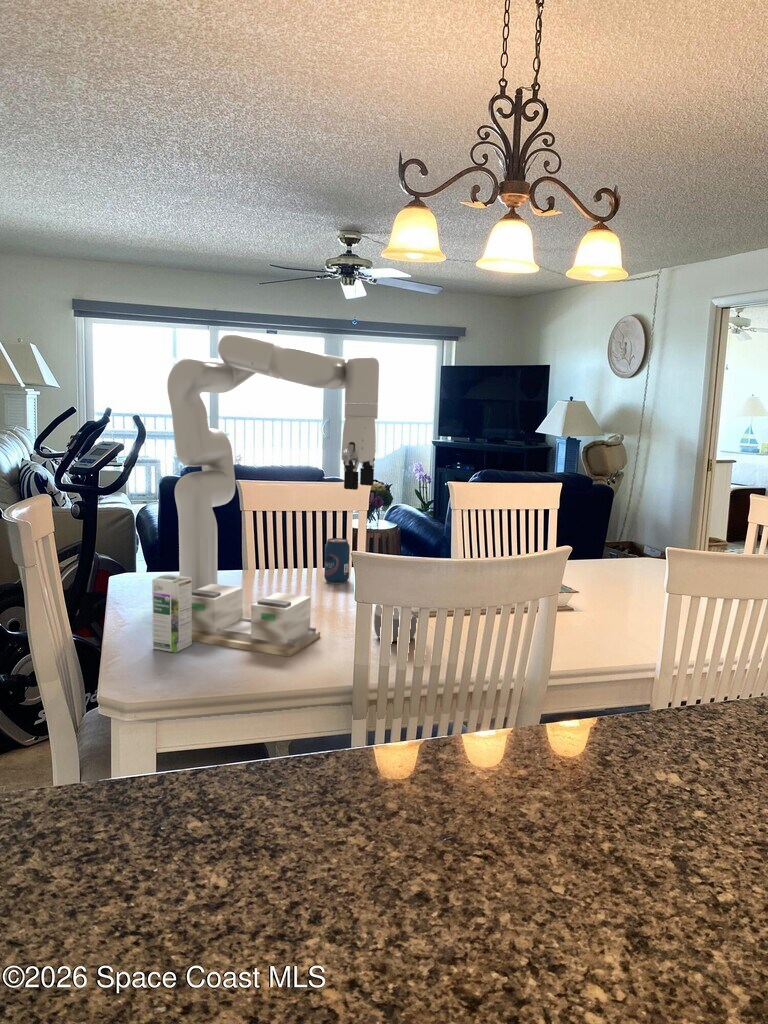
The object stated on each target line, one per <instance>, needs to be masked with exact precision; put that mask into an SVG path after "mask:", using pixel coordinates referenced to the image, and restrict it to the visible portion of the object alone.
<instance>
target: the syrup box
mask: <svg viewBox="0 0 768 1024" xmlns="http://www.w3.org/2000/svg"><path fill="white" fill-rule="evenodd" d="M151 585H152V587H151V588H152V589H151V590H152V591H151V593H152V595H151V597H152V649H153V650H157V651H158V650H159V651H164V652H170V653H175V654H176V653H178V652H180V651H183V650H185V649H186V648H188V647H190V646H191V645H192V644H193V641H192V578H191V577H183V576H179V575H178V576H176V574H163V575H160V576H157V577H154V578H153V579H152V581H151Z"/></svg>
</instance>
